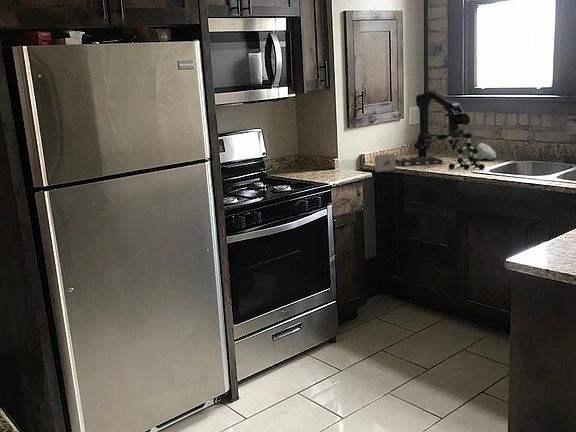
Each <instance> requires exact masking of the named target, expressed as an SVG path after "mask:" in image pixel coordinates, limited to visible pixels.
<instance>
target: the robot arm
mask: <svg viewBox="0 0 576 432" xmlns="http://www.w3.org/2000/svg"><path fill="white" fill-rule="evenodd" d="M431 100H433V101H434V102H437V103H438V104H440V105H441V106H442V107H443V108H444V110H445V112H447V113H446V114H445V117H447V118H448V120H447V122H448V123H447V124H448V125H447V128H448V133H447V134H444V133H437V135H436V140H438V141H439V140H440V141H441V140H443V141H444V140H445V141H447V142H449V145H450V147H451V150H452V152H453V151H455V149H456V147H457V144H458V142H459V141H461V138H464V139H468V138H467V137H466V134H467V133H469V132H466V131H464V130H465V129H463V128H461V129H459V127H460V126H461V125H462V126H467V125H469V124H470V122H471V117H470V115H468V113H467V112H464V110H463V109H462V106H461V104H460V103H459V102H457V101H454V100H451V99H448V98H447V97H445V96H443V95H442V94H440V93H439V92H438V91H437V90H429V91H427V92H425V93H420V94H418V95H416V96H415V102H416V106H417V108H418V110H419V111H418V113H419V134H418V136H417V141H416V142H415V144H414V145H413V146H414V149H416V150H417V156H416V157H415V158H417V159H420V156H421V157H425V158H428V149H430V147H431V145H432V142H433V134H431V133H430V132H429V114H428V108H429V106H430V103H431ZM459 125H460V126H459Z"/></svg>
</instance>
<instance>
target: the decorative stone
mask: <svg viewBox="0 0 576 432" xmlns="http://www.w3.org/2000/svg"><path fill="white" fill-rule="evenodd" d="M476 148H477V149H478V153H477V154H476V158H477V159H478V161H479V160H480V161H481V160H486V161H487V160H488V161H493V160H494V159H496V158H497V153H496V151H495V150H494V149H493V148H492V147H491V146H490V145H488V144H486V143H484V142H480V143H479V144H478V145H477V146H476Z"/></svg>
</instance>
